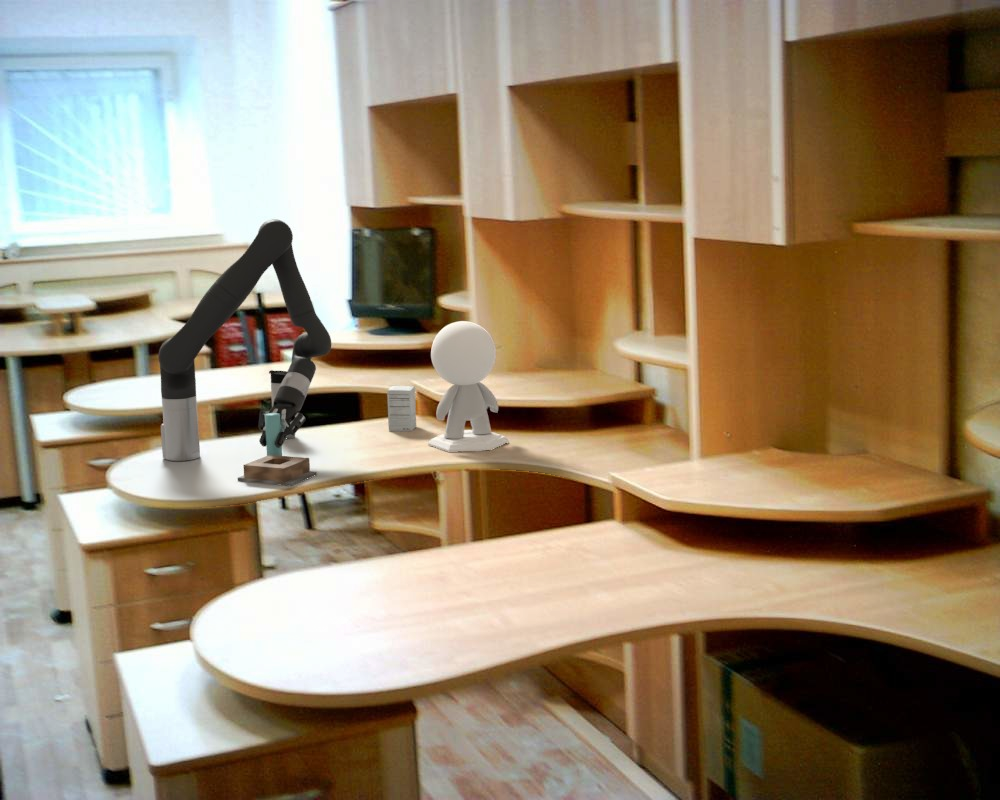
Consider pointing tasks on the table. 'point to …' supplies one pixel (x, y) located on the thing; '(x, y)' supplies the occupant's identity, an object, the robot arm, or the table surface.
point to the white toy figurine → (465, 387)
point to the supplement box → (401, 408)
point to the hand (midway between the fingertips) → (269, 445)
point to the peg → (272, 433)
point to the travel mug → (277, 387)
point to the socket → (277, 470)
